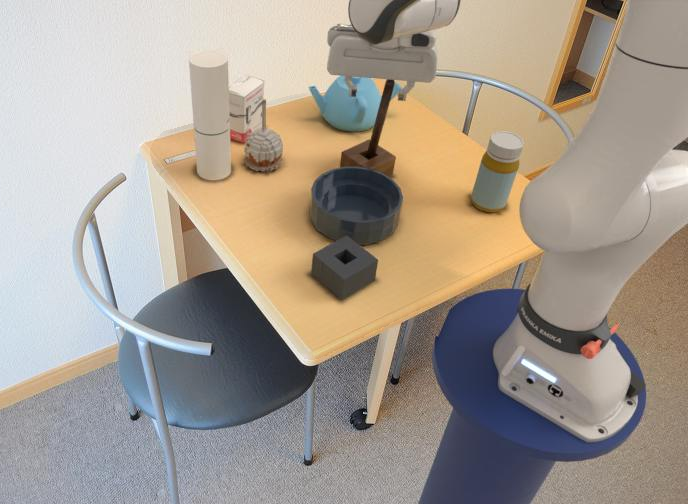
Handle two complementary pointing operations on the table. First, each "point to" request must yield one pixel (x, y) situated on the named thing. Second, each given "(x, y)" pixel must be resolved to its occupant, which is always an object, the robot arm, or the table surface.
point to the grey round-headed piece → (263, 147)
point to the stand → (344, 267)
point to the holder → (380, 162)
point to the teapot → (350, 103)
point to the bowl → (355, 204)
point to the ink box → (245, 107)
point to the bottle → (497, 171)
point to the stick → (380, 118)
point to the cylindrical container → (211, 113)
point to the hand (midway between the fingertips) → (376, 97)
